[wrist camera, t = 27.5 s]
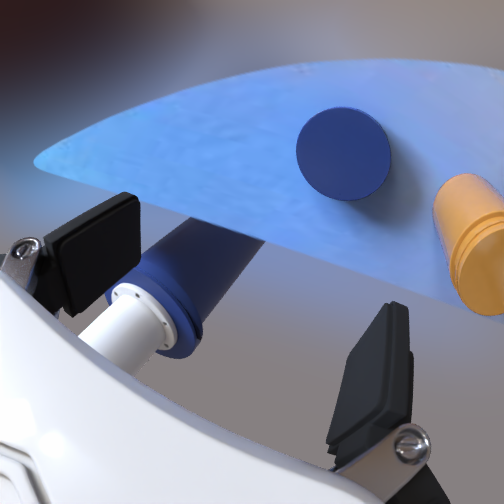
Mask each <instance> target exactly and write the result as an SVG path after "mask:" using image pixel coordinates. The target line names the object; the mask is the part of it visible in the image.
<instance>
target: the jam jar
mask: <svg viewBox="0 0 504 504" xmlns="http://www.w3.org/2000/svg"><path fill="white" fill-rule="evenodd" d="M433 221H434V225H435V228H436V231H437V234H438V237H439V240H440V243H441V246H442V249H443V253H444V256H445V259H446V263H447V266H448V270H449V274H450V277H451V281H452V283H453V286H454V288H455V289H456V291H457V293H458V294H459V296H460V298H461V300H462V302H463V303H464V304H465V305H466V306H467V307H468V308H469V309H470V310H472V311H473V312H475V313H477V314H480V315H485V316H494V315H500V314H503V313H504V197H503V196H502V195H501V194H500V193H499V192H498V191H497V190H496V189H495V188H494V187H493V186H492V185H491V184H490V183H489V182H488V181H487V180H486V179H484V178H483V177H481V176H478V175H475V174H460V175H457V176H454V177H452V178H451V179H449V180H448V181H447V182H446V183H444V185H443V186H442V187H441V188H440V190H439V191H438V193H437V195H436V197H435V200H434V204H433Z"/></svg>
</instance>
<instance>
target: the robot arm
mask: <svg viewBox="0 0 504 504" xmlns="http://www.w3.org/2000/svg"><path fill="white" fill-rule="evenodd" d="M43 238H44V243H45V246H43V247H42V246H41V242H40V241H39V240H38V239H37V238H32V237H28V238H23V239H20V240H18V241H17V242H15V243H14V244H13V245H12V246H11V247H10V249H9V250H8V252H7V254H0V504H450V501H449V499H448V497H447V496H446V494H445V492H444V491H443V489H442V488H441V486H440V484H439V483H438V481H437V479H436V478H435V476H434V475H433V473H432V472H431V470H430V468H429V467H428V466H427V464H426V462H427V461H428V459H429V457H430V454H431V442H430V438H429V436H428V435H427V433H426V431H424V430H423V429H422V428H421V427H420V426H418V425H416V424H411V415H412V402H413V376H414V357H413V353H412V352H411V351H410V346H409V345H410V338H409V311H408V308H407V307H406V306H404V305H402V304H399V303H397V302H395V301H392V302H391V303H390V304H388V303H385V304H384V305H383V307H382V308H381V310H380V311H379V313H378V314H377V316H376V317H375V318H374V320H373V322H372V323H371V324H370V326H369V327H368V329H367V330H366V331H365V333H364V334H363V336H362V337H361V338H360V340H359V341H358V343H357V344H356V345H355V347H354V348H353V349H352V351H351V352H350V354H349V356H348V358H347V361H346V366H345V370H344V375H343V379H342V383H341V387H340V392H339V396H338V399H337V404H336V407H335V411H334V414H333V418H332V422H331V425H330V429H329V432H328V435H327V439H326V444H328V445H329V449H328V452H327V453H329V454H332V455H336V458H335V464H336V465H335V466H333V467H332V468H330V469H329V470H326V469H324V468H321V467H318V466H315V465H312V464H310V463H307V462H305V461H302V460H299V459H296V458H294V457H291V456H288V455H286V454H283V453H280V452H278V451H275V450H273V449H270V448H268V447H265V446H263V445H261V444H258V443H256V442H254V441H251V440H249V439H247V438H245V437H242V436H240V435H238V434H236V433H233V432H231V431H229V430H227V429H225V428H223V427H221V426H218V425H216V424H214V423H212V422H210V421H208V420H206V419H204V418H203V417H200V416H199V415H197V414H195V413H193V412H191V411H189V410H187V409H185V408H184V407H182V406H180V405H178V404H177V403H175V402H173V401H171V400H170V399H168V398H166V397H165V396H163V395H161V394H160V393H158V392H156V391H155V390H153V389H151V388H150V387H148V386H147V385H145V384H143V383H142V382H140V381H139V380H137V379H135V378H134V376H135V375H136V374H137V373H138V372H139V370H140V369H141V368H142V367H143V366H144V364H145V363H146V362H147V361H149V358H150V357H151V356H152V355H153V354H154V352H155V351H156V350H157V349H159V350H168V349H171V348H172V347H173V346H174V345H175V343H176V342H177V339H178V334H177V330H176V326H175V324H174V322H173V320H172V318H171V317H170V315H169V314H168V312H167V311H166V310H165V308H164V307H163V306H162V305H161V304H160V303H159V302H158V301H157V300H156V299H155V298H154V297H153V296H152V295H150V294H149V293H148V292H147V291H145V290H143V289H142V288H140V287H138V286H136V285H133V284H130V283H121V284H119V285H118V286H117V287H115V288H114V289H113V291H112V305H111V306H110V307H109V308H107V310H106V311H104V312H103V313H102V314H101V315H100V316H99V317H98V318H97V319H96V320H95V321H94V322H92V324H90V325H89V326H88V327H87V328H86V329H85V330H84V331H83V332H82V333H81V334H80V335H79V336H77V335H75V334H74V333H73V332H72V331H70V330H69V329H68V328H67V327H66V326H64V325H63V324H62V323H61V322H60V321H59V320H58V317H59V311H60V308H62V307H63V308H64V311H65V312H66V313H67V314H69V315H70V316H71V317H72V318H73V317H74V316H76V315H77V314H78V313H82V312H83V311H84V310H85V309H87V308H88V307H89V306H90V305H91V304H92V303H93V302H94V301H96V300H97V299H98V298H99V297H100V296H101V295H102V294H104V293H105V292H106V291H107V290H108V289H110V288H111V287H112V286H113V285H114V284H115V283H117V282H118V281H119V280H120V279H121V278H123V277H124V276H125V275H126V274H127V273H129V272H130V271H131V270H132V269H133V268H135V267H136V266H137V265H138V264H139V262H140V260H141V233H140V202H139V200H138V197H137V196H135V195H133V194H130V193H128V192H122V193H120V194H118V195H116V196H114V197H112V198H110V199H108V200H106V201H104V202H103V203H101V204H99V205H97V206H95V207H93V208H92V209H90V210H88V211H86V212H84V213H83V214H81V215H79V216H78V217H76V218H74V219H72V220H71V221H69V222H67V223H66V224H64V225H62V226H61V227H59V228H58V229H56V230H54V231H52V232H51V233H49V234H48V235H46V236H44V237H43Z"/></svg>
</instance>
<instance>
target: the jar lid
mask: <svg viewBox="0 0 504 504" xmlns="http://www.w3.org/2000/svg"><path fill="white" fill-rule="evenodd" d="M296 156H297V162H298V165H299V168H300V170H301V172H302V174H303V176H304V177H305V179H306V180H307V182H308V183H309V184H310V185H311V186H312V187H313V188H314V189H316V190H317V191H318V192H320V193H321V194H323V195H325V196H327V197H329V198H333V199H336V200H342V201H352V200H358V199H361V198H364V197H366V196H369V195H370V194H372V193H373V192H375V191H376V190H377V189H378V188H379V187H380V186H381V185H382V184H383V182H384V181H385V179H386V177H387V175H388V172H389V169H390V164H391V152H390V146H389V143H388V139H387V137H386V134H385V132H384V131H383V129H382V127H381V126H380V125H379V124H378V122H377V121H376V120H375V119H373V118H372V117H371V116H370V115H368V114H366V113H365V112H363V111H360V110H358V109H355V108H351V107H334V108H330V109H327V110H324V111H321V112H319V113H317V114H316V115H314V116H313V117H312V118H310V119H309V120H308V121H307V122H306V124H305V125H304V126H303V128H302V130H301V132H300V134H299V136H298V140H297V145H296Z"/></svg>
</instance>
